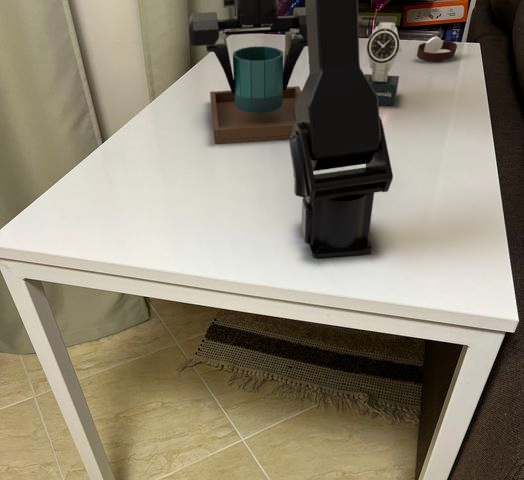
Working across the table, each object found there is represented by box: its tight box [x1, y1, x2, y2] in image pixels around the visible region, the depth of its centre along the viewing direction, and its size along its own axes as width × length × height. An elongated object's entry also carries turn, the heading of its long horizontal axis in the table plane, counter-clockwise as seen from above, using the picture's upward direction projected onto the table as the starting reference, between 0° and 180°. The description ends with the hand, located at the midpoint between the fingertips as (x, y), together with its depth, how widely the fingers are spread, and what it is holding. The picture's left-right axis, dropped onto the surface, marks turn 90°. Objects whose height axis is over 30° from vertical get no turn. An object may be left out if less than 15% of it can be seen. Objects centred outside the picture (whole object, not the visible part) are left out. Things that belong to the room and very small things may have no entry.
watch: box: [364, 21, 404, 107], centre depth 86 cm, size 6×8×11 cm
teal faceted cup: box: [232, 45, 284, 113], centre depth 81 cm, size 7×7×7 cm
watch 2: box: [416, 35, 458, 63], centre depth 103 cm, size 8×5×4 cm, turn 105°
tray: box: [209, 85, 302, 145], centre depth 84 cm, size 15×16×2 cm
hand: (259, 91), depth 82 cm, fingers closed on teal faceted cup, 7 cm apart
